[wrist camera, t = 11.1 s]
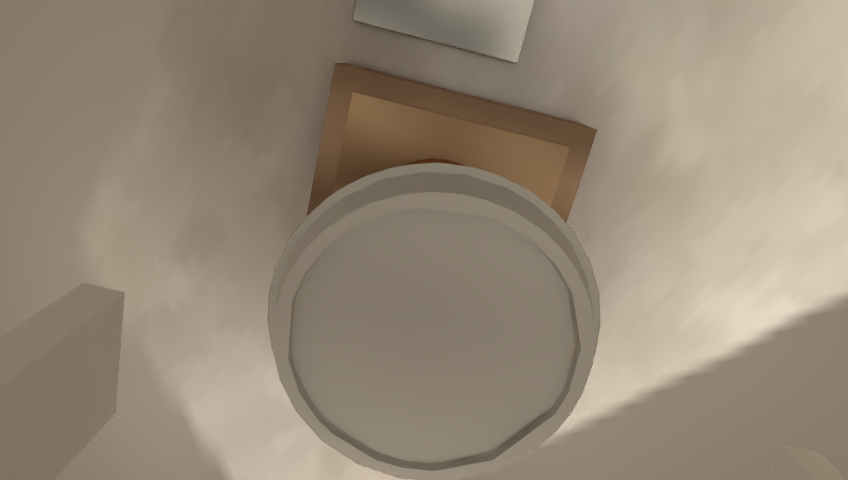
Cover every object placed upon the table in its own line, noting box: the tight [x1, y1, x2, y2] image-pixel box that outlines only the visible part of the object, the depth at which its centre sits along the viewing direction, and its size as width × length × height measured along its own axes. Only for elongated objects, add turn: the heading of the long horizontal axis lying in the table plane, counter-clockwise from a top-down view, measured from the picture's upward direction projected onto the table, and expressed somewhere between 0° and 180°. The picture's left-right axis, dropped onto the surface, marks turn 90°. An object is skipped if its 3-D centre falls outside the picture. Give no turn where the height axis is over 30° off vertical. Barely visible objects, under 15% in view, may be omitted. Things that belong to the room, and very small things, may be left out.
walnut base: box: [307, 63, 597, 222], centre depth 28 cm, size 12×12×3 cm
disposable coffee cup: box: [268, 158, 600, 480], centre depth 21 cm, size 10×10×12 cm
